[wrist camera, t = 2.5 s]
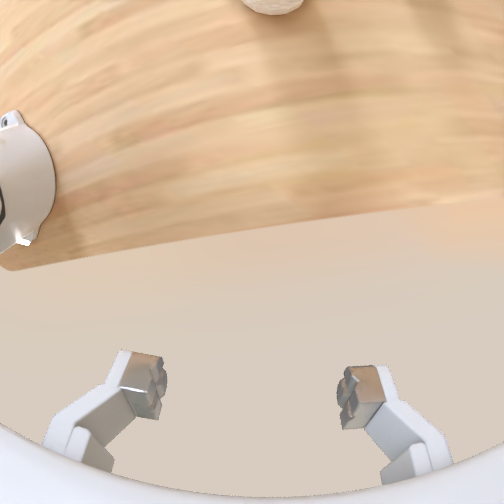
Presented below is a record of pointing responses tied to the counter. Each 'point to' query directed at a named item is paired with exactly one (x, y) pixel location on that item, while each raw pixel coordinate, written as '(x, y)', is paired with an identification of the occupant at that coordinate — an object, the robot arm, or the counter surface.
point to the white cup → (273, 6)
